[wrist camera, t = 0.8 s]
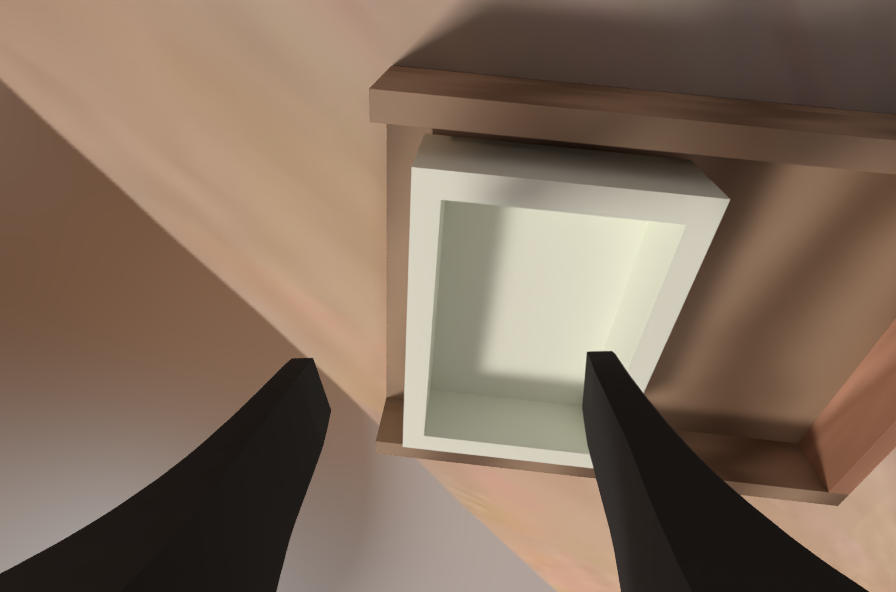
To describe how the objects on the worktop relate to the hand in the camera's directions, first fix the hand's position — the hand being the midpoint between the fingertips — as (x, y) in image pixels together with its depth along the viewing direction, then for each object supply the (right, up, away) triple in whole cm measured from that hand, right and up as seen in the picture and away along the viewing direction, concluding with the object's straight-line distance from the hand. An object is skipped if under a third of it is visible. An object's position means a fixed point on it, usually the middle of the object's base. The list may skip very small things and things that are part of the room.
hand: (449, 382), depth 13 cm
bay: (+9, +2, +10) cm, 14 cm away
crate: (+4, +2, +9) cm, 10 cm away
